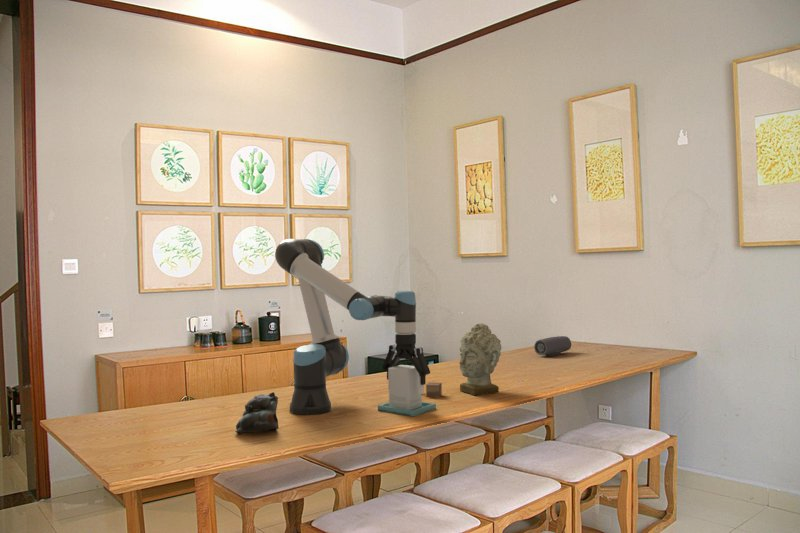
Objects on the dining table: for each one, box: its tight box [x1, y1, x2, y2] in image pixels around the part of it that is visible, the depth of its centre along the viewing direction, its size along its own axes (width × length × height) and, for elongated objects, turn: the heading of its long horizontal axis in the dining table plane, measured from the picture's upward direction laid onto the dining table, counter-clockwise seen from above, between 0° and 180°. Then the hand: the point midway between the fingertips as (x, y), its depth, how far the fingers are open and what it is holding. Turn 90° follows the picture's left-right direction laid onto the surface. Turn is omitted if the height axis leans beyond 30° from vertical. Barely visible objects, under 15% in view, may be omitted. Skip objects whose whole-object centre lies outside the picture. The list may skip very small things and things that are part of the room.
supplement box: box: [388, 364, 423, 410], centre depth 237 cm, size 9×9×15 cm
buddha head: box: [459, 323, 502, 397], centre depth 266 cm, size 17×19×28 cm
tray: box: [377, 401, 437, 417], centre depth 237 cm, size 14×16×2 cm
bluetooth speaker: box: [534, 335, 572, 357], centre depth 359 cm, size 23×9×10 cm, turn 130°
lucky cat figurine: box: [234, 392, 279, 435], centre depth 212 cm, size 15×12×14 cm
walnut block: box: [425, 381, 443, 399], centre depth 260 cm, size 5×5×5 cm
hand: (405, 391), depth 237 cm, fingers open, 13 cm apart
